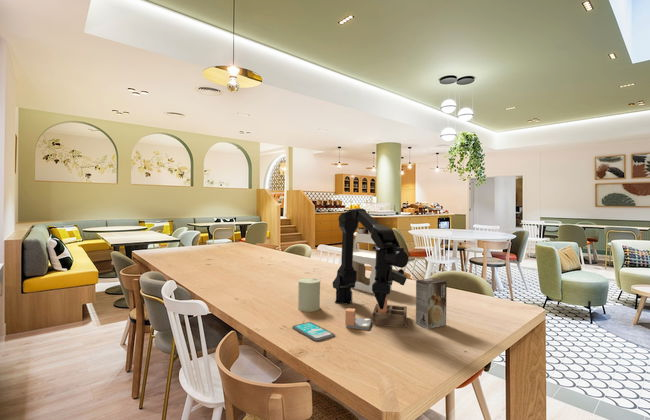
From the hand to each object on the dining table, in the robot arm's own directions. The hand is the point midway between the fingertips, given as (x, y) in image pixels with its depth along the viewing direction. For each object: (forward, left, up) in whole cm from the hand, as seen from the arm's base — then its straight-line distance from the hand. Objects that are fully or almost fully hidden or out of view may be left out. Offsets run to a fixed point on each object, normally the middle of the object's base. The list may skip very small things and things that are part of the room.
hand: (382, 305), depth 121 cm
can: (-31, +8, -6) cm, 33 cm away
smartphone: (-22, -16, -7) cm, 28 cm away
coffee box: (+17, +3, -6) cm, 19 cm away
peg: (0, 0, -5) cm, 5 cm away
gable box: (-12, +49, -6) cm, 51 cm away
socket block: (+3, +3, -6) cm, 7 cm away
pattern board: (-8, -5, -6) cm, 11 cm away
